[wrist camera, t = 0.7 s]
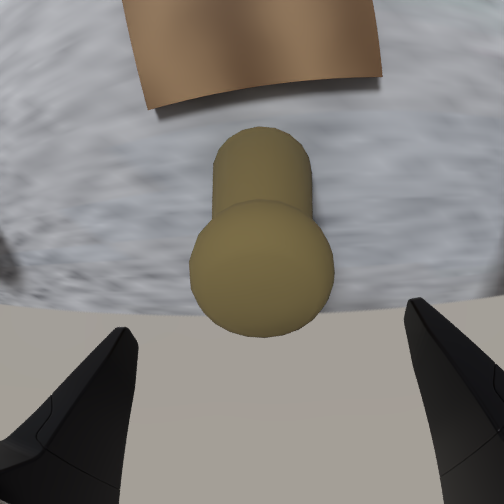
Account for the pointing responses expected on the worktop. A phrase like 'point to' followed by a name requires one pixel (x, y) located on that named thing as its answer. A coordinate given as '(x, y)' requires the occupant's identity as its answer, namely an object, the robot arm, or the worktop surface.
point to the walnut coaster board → (247, 44)
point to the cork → (261, 239)
